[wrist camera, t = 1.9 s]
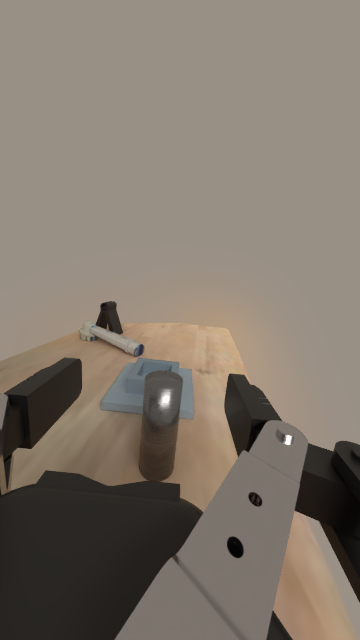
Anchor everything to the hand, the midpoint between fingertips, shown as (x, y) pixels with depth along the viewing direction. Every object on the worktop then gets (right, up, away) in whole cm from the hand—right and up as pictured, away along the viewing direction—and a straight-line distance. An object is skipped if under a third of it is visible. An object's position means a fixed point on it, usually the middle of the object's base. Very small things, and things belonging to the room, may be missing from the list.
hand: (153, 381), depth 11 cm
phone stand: (-26, -2, +65) cm, 70 cm away
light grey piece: (-21, -5, +53) cm, 57 cm away
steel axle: (-2, -15, +15) cm, 21 cm away
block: (-4, -11, +31) cm, 34 cm away
